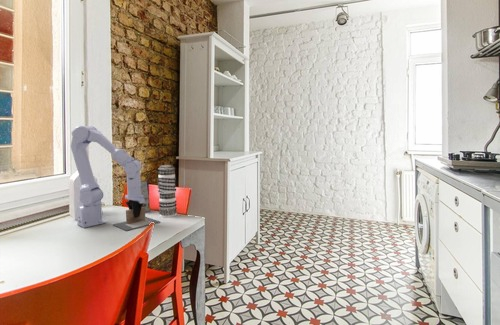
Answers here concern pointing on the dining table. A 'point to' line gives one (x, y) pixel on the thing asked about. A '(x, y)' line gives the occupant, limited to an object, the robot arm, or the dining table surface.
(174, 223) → the dining table surface
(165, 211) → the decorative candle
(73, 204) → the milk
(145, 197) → the coffee box
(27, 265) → the dining table surface
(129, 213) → the walnut slab
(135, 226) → the charcoal mat
